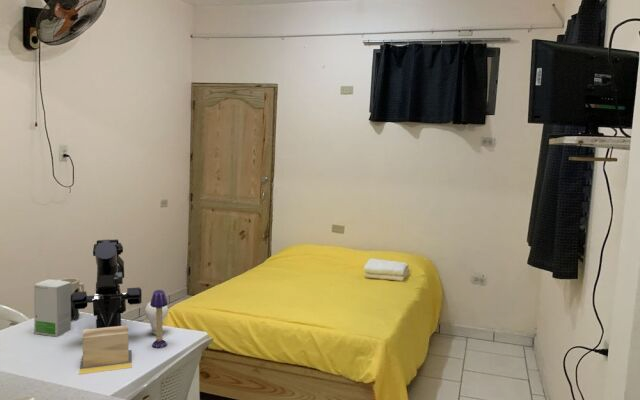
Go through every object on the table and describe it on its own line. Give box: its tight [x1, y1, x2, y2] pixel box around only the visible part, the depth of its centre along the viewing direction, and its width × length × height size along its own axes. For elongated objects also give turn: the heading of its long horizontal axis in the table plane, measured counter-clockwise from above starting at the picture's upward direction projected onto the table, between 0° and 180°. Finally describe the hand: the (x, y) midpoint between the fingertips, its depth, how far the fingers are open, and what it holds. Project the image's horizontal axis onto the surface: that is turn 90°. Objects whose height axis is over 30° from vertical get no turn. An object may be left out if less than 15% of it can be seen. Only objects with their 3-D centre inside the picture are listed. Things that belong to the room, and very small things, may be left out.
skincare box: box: [33, 278, 72, 338], centre depth 154 cm, size 8×7×16 cm
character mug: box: [58, 277, 85, 321], centre depth 165 cm, size 11×7×13 cm, turn 142°
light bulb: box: [144, 301, 169, 336], centre depth 153 cm, size 7×7×11 cm
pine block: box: [81, 324, 130, 368], centre depth 135 cm, size 6×11×8 cm, turn 111°
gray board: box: [78, 349, 133, 375], centre depth 134 cm, size 12×13×1 cm
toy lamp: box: [150, 289, 168, 350], centre depth 144 cm, size 5×5×17 cm
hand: (107, 325), depth 141 cm, fingers closed
